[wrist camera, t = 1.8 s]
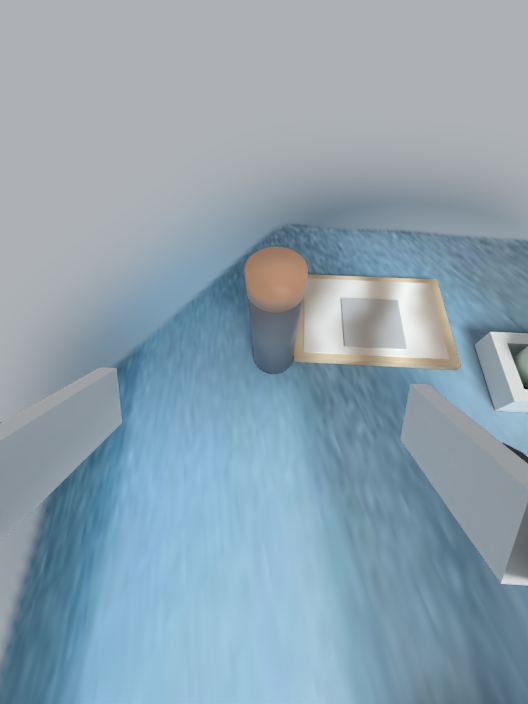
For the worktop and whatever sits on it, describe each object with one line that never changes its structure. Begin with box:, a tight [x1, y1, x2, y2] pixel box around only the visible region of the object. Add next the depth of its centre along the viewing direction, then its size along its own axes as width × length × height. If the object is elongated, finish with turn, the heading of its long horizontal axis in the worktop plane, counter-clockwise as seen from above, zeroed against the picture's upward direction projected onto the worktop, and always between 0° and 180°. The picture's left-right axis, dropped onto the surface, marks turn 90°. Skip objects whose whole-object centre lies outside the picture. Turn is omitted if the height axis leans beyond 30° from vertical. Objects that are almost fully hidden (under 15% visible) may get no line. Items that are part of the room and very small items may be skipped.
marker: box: [245, 247, 308, 374], centre depth 25 cm, size 4×4×12 cm
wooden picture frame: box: [293, 274, 461, 370], centre depth 32 cm, size 16×11×1 cm
